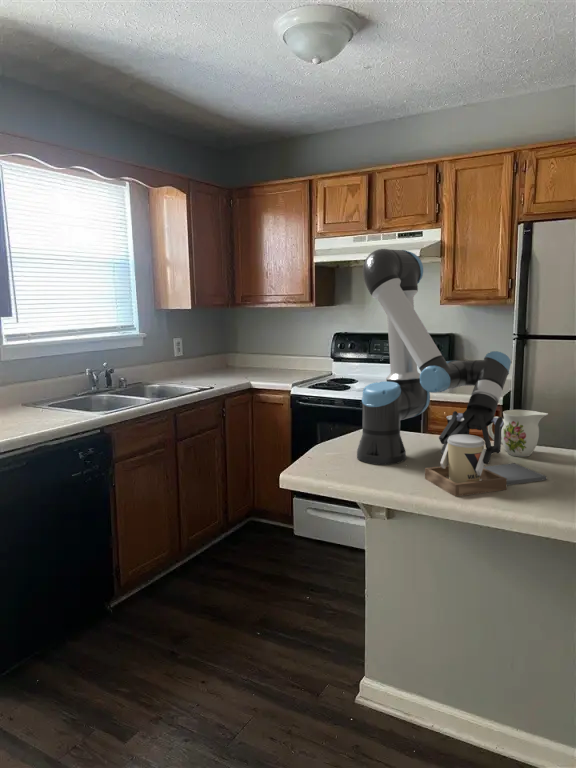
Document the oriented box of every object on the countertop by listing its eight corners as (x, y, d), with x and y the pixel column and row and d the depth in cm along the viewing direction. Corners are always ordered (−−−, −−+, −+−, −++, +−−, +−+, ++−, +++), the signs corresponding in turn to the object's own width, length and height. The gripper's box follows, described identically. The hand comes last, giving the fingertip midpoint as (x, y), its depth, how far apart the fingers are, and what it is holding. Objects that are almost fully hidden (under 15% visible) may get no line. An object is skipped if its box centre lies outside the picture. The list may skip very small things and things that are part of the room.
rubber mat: (475, 471, 160) (476, 467, 160) (514, 466, 163) (514, 463, 163) (505, 485, 147) (505, 481, 147) (546, 479, 151) (546, 476, 151)
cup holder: (424, 478, 154) (425, 468, 154) (471, 472, 158) (472, 462, 158) (455, 496, 140) (455, 485, 139) (506, 489, 144) (506, 478, 144)
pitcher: (493, 445, 187) (494, 405, 185) (550, 453, 175) (553, 411, 173) (481, 452, 178) (482, 410, 176) (540, 462, 167) (542, 417, 165)
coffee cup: (470, 490, 143) (472, 445, 141) (439, 481, 149) (440, 438, 147) (489, 482, 149) (491, 438, 147) (458, 473, 156) (459, 432, 154)
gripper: (526, 412, 151) (504, 484, 142) (450, 403, 165) (425, 468, 155) (522, 396, 146) (498, 469, 137) (443, 388, 160) (417, 454, 150)
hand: (460, 469), depth 146 cm, fingers closed on coffee cup, 9 cm apart
